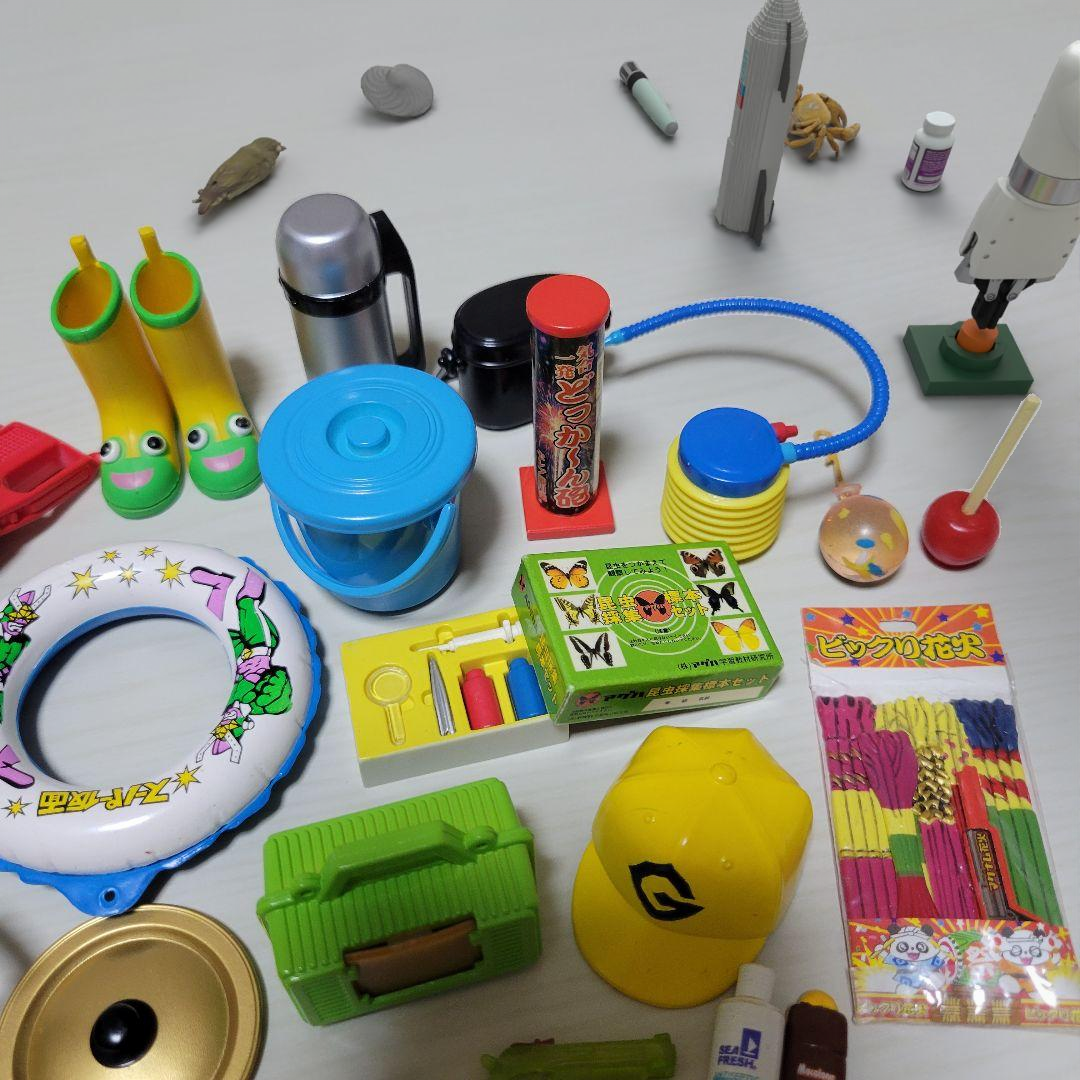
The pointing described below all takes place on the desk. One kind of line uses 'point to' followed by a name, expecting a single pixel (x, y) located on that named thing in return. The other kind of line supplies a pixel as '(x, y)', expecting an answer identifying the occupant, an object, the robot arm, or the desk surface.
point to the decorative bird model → (239, 172)
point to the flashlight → (648, 97)
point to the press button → (976, 337)
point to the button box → (965, 363)
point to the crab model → (818, 121)
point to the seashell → (397, 90)
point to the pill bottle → (929, 152)
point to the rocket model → (761, 117)
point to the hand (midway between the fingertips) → (982, 321)
